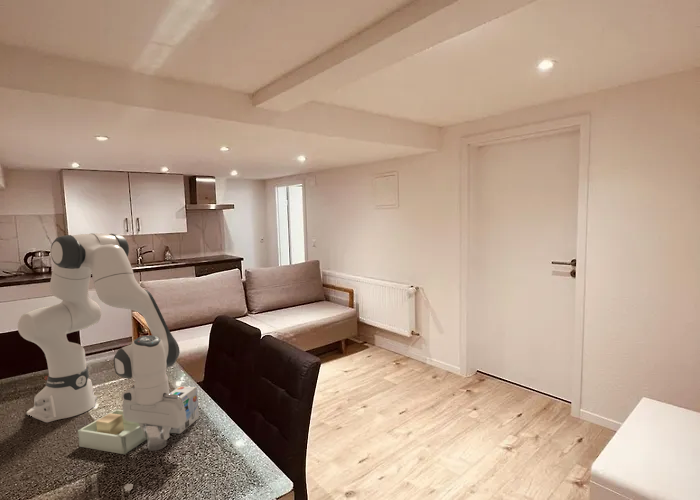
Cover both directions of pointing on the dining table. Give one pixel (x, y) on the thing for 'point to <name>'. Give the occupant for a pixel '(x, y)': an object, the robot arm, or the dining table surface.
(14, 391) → the dining table surface
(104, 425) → the cube
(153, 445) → the cylinder
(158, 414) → the robot arm
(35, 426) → the dining table surface
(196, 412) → the light bulb box
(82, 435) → the tote
